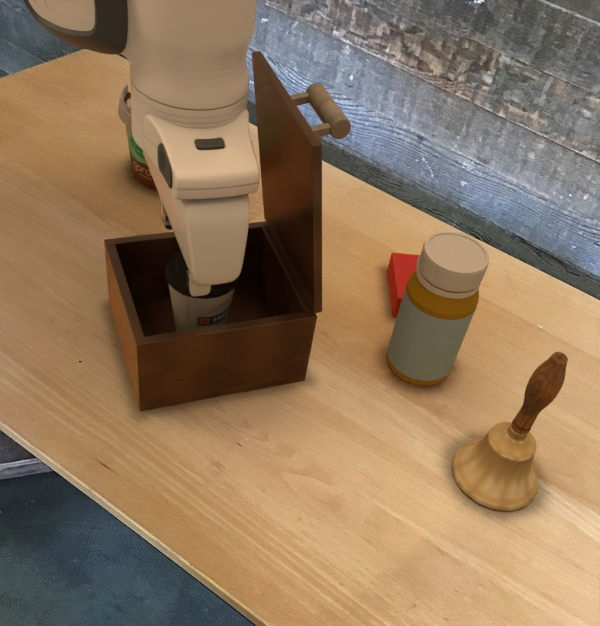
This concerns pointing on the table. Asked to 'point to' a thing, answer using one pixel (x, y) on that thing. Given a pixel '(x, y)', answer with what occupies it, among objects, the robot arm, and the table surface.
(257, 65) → the lid
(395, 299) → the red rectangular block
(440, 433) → the table surface
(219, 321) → the coffee cup
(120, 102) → the food container
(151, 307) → the chest
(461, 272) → the bottle
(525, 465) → the hand bell
